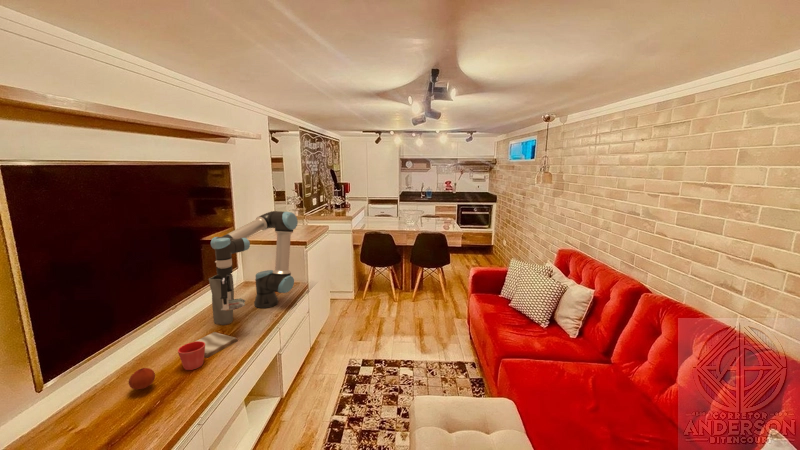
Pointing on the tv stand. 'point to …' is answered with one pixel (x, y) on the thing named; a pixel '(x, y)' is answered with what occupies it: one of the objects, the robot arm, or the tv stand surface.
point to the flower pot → (192, 355)
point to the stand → (216, 343)
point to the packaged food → (235, 304)
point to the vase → (220, 301)
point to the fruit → (142, 378)
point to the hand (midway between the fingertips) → (227, 306)
